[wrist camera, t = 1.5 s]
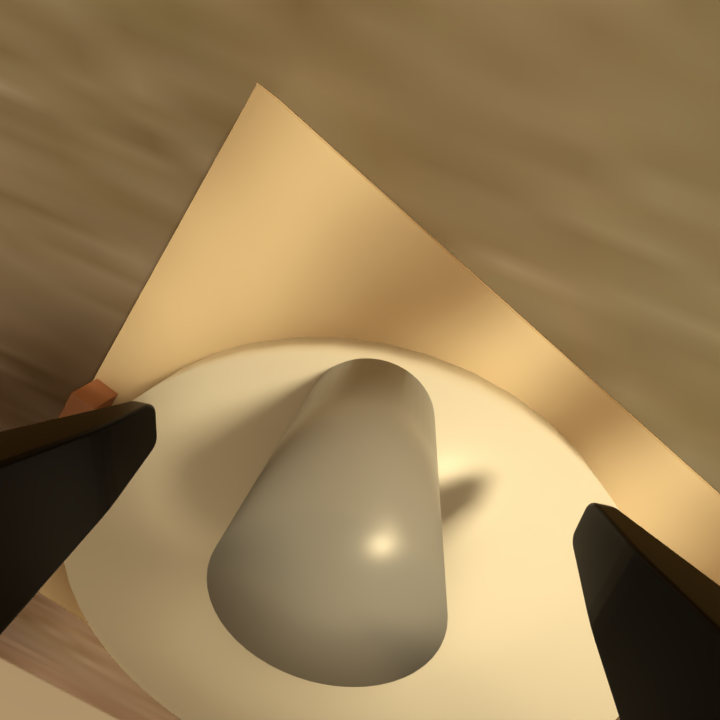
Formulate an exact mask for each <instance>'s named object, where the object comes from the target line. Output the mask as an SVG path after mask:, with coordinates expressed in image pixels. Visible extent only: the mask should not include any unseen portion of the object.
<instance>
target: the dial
mask: <svg viewBox="0 0 720 720" xmlns="http://www.w3.org/2000/svg"><path fill="white" fill-rule="evenodd" d="M133 401H138V402H143V403H147V404H151V405H152V406H154V408H155V411H156V429H157V440H156V444H155V446H154V448H153V450H152V451H151V453H150V454H149V456H148V457H147V458H146V460H145V461H144V463H143V464H142V465H141V467H140V468H139V470H138V471H137V472H136V474H135V475H134V476H133V478H132V479H131V481H130V482H129V483H128V485H127V486H126V488H125V489H124V490H123V492H122V493H121V495H120V496H119V497H118V499H117V500H116V501H115V503H114V504H113V505H112V507H111V508H110V509H109V510H108V512H107V513H106V514H105V515H104V516H103V518H102V519H101V520H100V521H99V522H98V523H97V525H96V526H95V527H94V528H93V529H92V530H91V531H90V533H89V534H88V535H87V536H86V537H85V538H84V539H83V541H82V542H81V543H80V544H79V545H78V546H77V547H76V549H75V550H74V551H73V552H72V553H71V554H70V555H69V557H68V558H67V559H66V560H65V561H64V565H65V568H66V572H67V576H68V580H69V584H70V586H71V589H72V591H73V593H74V596H75V598H76V601H77V603H78V605H79V608H80V610H81V611H82V613H83V615H84V617H85V619H86V620H87V622H88V624H89V626H90V627H91V629H92V631H93V632H94V634H95V635H96V637H97V638H98V639H99V641H100V642H101V644H102V645H103V646H104V648H105V649H106V650H107V652H108V653H109V654H110V656H111V657H112V658H113V659H114V660H115V661H116V662H117V664H118V665H119V666H120V667H121V668H122V669H123V670H124V671H125V673H126V674H127V675H128V676H129V677H130V678H131V679H133V680H134V681H135V682H136V683H137V684H138V685H139V686H140V687H141V688H142V689H143V690H144V691H145V692H146V693H147V694H149V695H150V696H151V697H152V698H154V699H155V700H156V701H157V702H159V703H160V704H161V705H162V706H164V707H165V708H166V709H167V710H169V711H170V712H171V713H173V714H174V715H176V716H177V717H179V718H180V719H182V720H616V719H617V717H618V716H619V715H618V712H617V709H616V706H615V702H614V699H613V696H612V693H611V690H610V687H609V684H608V681H607V678H606V674H605V671H604V668H603V665H602V662H601V659H600V656H599V653H598V649H597V646H596V643H595V640H594V637H593V633H592V630H591V626H590V622H589V618H588V614H587V610H586V605H585V600H584V596H583V591H582V587H581V582H580V577H579V573H578V568H577V563H576V559H575V554H574V550H573V534H574V531H575V529H576V527H577V525H578V523H579V521H580V519H581V517H582V515H583V513H584V511H585V509H586V507H587V506H588V505H589V504H590V503H599V504H604V505H608V506H612V507H615V508H617V509H618V507H617V506H616V504H615V503H614V501H613V500H612V498H611V497H610V495H609V494H608V492H607V491H606V489H605V488H604V486H603V485H602V483H601V482H600V480H599V479H598V477H597V476H596V475H595V473H594V472H593V471H592V469H591V468H590V467H589V465H588V464H587V463H586V461H585V460H584V459H583V457H582V456H581V455H580V453H579V452H578V451H577V449H576V448H575V447H574V446H573V445H572V444H571V443H570V442H569V441H568V440H567V439H566V438H565V437H564V436H563V435H562V434H561V433H560V432H559V431H558V430H557V429H556V428H555V427H554V426H553V425H552V424H551V423H550V422H548V421H547V420H546V419H545V418H543V417H542V416H541V415H539V414H538V413H537V412H535V411H534V410H533V409H531V408H530V407H529V406H527V405H526V404H525V403H523V402H522V401H521V400H519V399H518V398H517V397H515V396H514V395H513V394H511V393H509V392H507V391H505V390H504V389H502V388H500V387H498V386H497V385H495V384H493V383H491V382H489V381H488V380H486V379H484V378H482V377H480V376H479V375H477V374H475V373H473V372H471V371H468V370H466V369H463V368H461V367H458V366H456V365H453V364H451V363H448V362H446V361H443V360H441V359H438V358H436V357H433V356H431V355H428V354H424V353H420V352H416V351H412V350H409V349H405V348H401V347H397V346H394V345H390V344H386V343H379V342H372V341H364V340H357V339H350V338H342V337H292V338H284V339H276V340H268V341H260V342H254V343H250V344H246V345H243V346H239V347H235V348H231V349H228V350H224V351H220V352H217V353H215V354H213V355H210V356H208V357H206V358H203V359H201V360H199V361H197V362H194V363H192V364H190V365H187V366H185V367H184V368H182V369H180V370H179V371H177V372H176V373H174V374H173V375H171V376H169V377H168V378H166V379H165V380H163V381H162V382H160V383H159V384H157V385H155V386H154V387H152V388H151V389H149V390H148V391H146V392H145V393H143V394H142V395H140V396H139V397H137V398H136V399H134V400H133ZM618 510H619V509H618ZM619 511H620V510H619Z"/></svg>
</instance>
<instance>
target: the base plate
mask: <svg viewBox="0 0 720 720" xmlns="http://www.w3.org/2000/svg"><path fill="white" fill-rule="evenodd" d="M292 337H342V338H350V339H357V340H364V341H372V342H379V343H386V344H390V345H394V346H397V347H401V348H405V349H409V350H412V351H416V352H420V353H424V354H428V355H431V356H433V357H436V358H438V359H441V360H443V361H446V362H448V363H451V364H453V365H456V366H458V367H461V368H463V369H466V370H468V371H471V372H473V373H475V374H477V375H479V376H480V377H482V378H484V379H486V380H488V381H489V382H491V383H493V384H495V385H497V386H498V387H500V388H502V389H504V390H505V391H507V392H509V393H511V394H513V395H514V396H515V397H517V398H518V399H519V400H521V401H522V402H523V403H525V404H526V405H527V406H529V407H530V408H531V409H533V410H534V411H535V412H537V413H538V414H539V415H541V416H542V417H543V418H545V419H546V420H547V421H548V422H550V423H551V424H552V425H553V426H554V427H555V428H556V429H557V430H558V431H559V432H560V433H561V434H562V435H563V436H564V437H565V438H566V439H567V440H568V441H569V442H570V443H571V444H572V445H573V446H574V447H575V448H576V449H577V451H578V452H579V453H580V455H581V456H582V457H583V459H584V460H585V461H586V463H587V464H588V465H589V467H590V468H591V469H592V471H593V472H594V473H595V475H596V476H597V477H598V479H599V480H600V482H601V483H602V485H603V486H604V488H605V489H606V491H607V492H608V494H609V495H610V497H611V498H612V500H613V501H614V503H615V504H616V506H617V507H618V509H619V510H620V511H621V512H622V513H623V514H625V515H626V516H627V517H629V518H630V519H631V520H633V521H634V522H635V523H637V524H638V525H639V526H641V527H642V528H643V529H645V530H646V531H647V532H649V533H650V534H651V535H653V536H654V537H655V538H657V539H658V540H659V541H661V542H662V543H663V544H665V545H666V546H667V547H669V548H670V549H671V550H673V551H674V552H675V553H677V554H678V555H679V556H681V557H682V558H683V559H685V560H686V561H687V562H689V563H690V564H691V565H693V566H694V567H695V568H697V569H698V570H699V571H701V572H702V573H703V574H705V575H706V576H707V577H709V578H710V579H711V580H713V581H714V582H715V583H717V584H718V585H719V586H720V494H719V493H718V492H717V491H716V490H715V489H713V488H712V487H711V486H710V485H709V484H708V483H707V482H706V481H705V480H703V479H702V478H701V477H700V476H699V475H698V474H697V473H696V472H695V471H693V470H692V469H691V468H690V467H689V466H688V465H687V464H686V463H684V462H683V461H682V460H681V459H680V458H679V457H678V456H677V455H676V454H674V453H673V452H672V451H671V450H670V449H669V448H668V447H667V446H665V445H664V444H663V443H662V442H661V441H660V440H659V439H658V438H657V437H655V436H654V435H653V434H652V433H651V432H650V431H649V430H648V429H646V428H645V427H644V426H643V425H642V424H641V423H640V422H639V421H638V420H636V419H635V418H634V417H633V416H632V415H631V414H630V413H629V412H627V411H626V410H625V409H624V408H623V407H622V406H621V405H620V404H619V403H617V402H616V401H615V400H614V399H613V398H612V397H611V396H610V395H608V394H607V393H606V392H605V391H604V390H603V389H602V388H601V387H600V386H598V385H597V384H596V383H595V382H594V381H593V380H592V379H591V378H589V377H588V376H587V375H586V374H585V373H584V372H583V371H582V370H581V369H579V368H578V367H577V366H576V365H575V364H574V363H573V362H572V361H570V360H569V359H568V358H567V357H566V356H565V355H564V354H563V353H562V352H560V351H559V350H558V349H557V348H556V347H555V346H554V345H553V344H551V343H550V342H549V341H548V340H547V339H546V338H545V337H544V336H543V335H541V334H540V333H539V332H538V331H537V330H536V329H535V328H534V327H532V326H531V325H530V324H529V323H528V322H527V321H526V320H525V319H524V318H522V317H521V316H520V315H519V314H518V313H517V312H516V311H515V310H513V309H512V308H511V307H510V306H509V305H508V304H507V303H506V302H505V301H503V300H502V299H501V298H500V297H499V296H498V295H497V294H496V293H494V292H493V291H492V290H491V289H490V288H489V287H488V286H487V285H486V284H484V283H483V282H482V281H481V280H480V279H479V278H478V277H477V276H476V275H474V274H473V273H472V272H471V271H470V270H469V269H468V268H467V267H465V266H464V265H463V264H462V263H461V262H460V261H459V260H458V259H457V258H455V257H454V256H453V255H452V254H451V253H450V252H449V251H448V250H446V249H445V248H444V247H443V246H442V245H441V244H440V243H439V242H438V241H436V240H435V239H434V238H433V237H432V236H431V235H430V234H429V233H427V232H426V231H425V230H424V229H423V228H422V227H421V226H420V225H419V224H417V223H416V222H415V221H414V220H413V219H412V218H411V217H410V216H408V215H407V214H406V213H405V212H404V211H403V210H402V209H401V208H400V207H398V206H397V205H396V204H395V203H394V202H393V201H392V200H391V199H389V198H388V197H387V196H386V195H385V194H384V193H383V192H382V191H381V190H379V189H378V188H377V187H376V186H375V185H374V184H373V183H372V182H370V181H369V180H368V179H367V178H366V177H365V176H364V175H363V174H362V173H360V172H359V171H358V170H357V169H356V168H355V167H354V166H353V165H351V164H350V163H349V162H348V161H347V160H346V159H345V158H344V157H343V156H341V155H340V154H339V153H338V152H337V151H336V150H335V149H334V148H332V147H331V146H330V145H329V144H328V143H327V142H326V141H325V140H324V139H322V138H321V137H320V136H319V135H318V134H317V133H316V132H315V131H313V130H312V129H311V128H310V127H309V126H308V125H307V124H306V123H305V122H303V121H302V120H301V119H300V118H299V117H298V116H297V115H296V114H294V113H293V112H292V111H291V110H290V109H289V108H288V107H287V106H286V105H284V104H283V103H282V102H281V101H280V100H279V99H277V98H276V97H275V96H274V95H272V94H271V93H270V92H268V91H267V90H266V89H265V88H263V87H262V86H261V85H260V84H258V83H257V85H256V87H255V89H254V90H253V92H252V94H251V96H250V98H249V99H248V101H247V103H246V105H245V107H244V109H243V110H242V112H241V114H240V116H239V118H238V119H237V121H236V123H235V125H234V127H233V128H232V130H231V132H230V134H229V136H228V137H227V139H226V141H225V143H224V145H223V146H222V148H221V150H220V152H219V154H218V155H217V157H216V159H215V161H214V163H213V165H212V166H211V168H210V170H209V172H208V174H207V175H206V177H205V179H204V181H203V183H202V184H201V186H200V188H199V190H198V192H197V193H196V195H195V197H194V199H193V201H192V202H191V204H190V206H189V208H188V210H187V211H186V213H185V215H184V217H183V219H182V220H181V222H180V224H179V226H178V228H177V230H176V231H175V233H174V235H173V237H172V239H171V240H170V242H169V244H168V246H167V248H166V249H165V251H164V253H163V255H162V257H161V258H160V260H159V262H158V264H157V266H156V267H155V269H154V271H153V273H152V275H151V276H150V278H149V280H148V282H147V284H146V286H145V287H144V289H143V291H142V293H141V295H140V296H139V298H138V300H137V302H136V304H135V305H134V307H133V309H132V311H131V313H130V314H129V316H128V318H127V320H126V322H125V323H124V325H123V327H122V329H121V331H120V332H119V334H118V336H117V338H116V340H115V342H114V343H113V345H112V347H111V349H110V351H109V352H108V354H107V356H106V358H105V360H104V361H103V363H102V365H101V367H100V369H99V370H98V372H97V374H96V376H95V378H94V379H93V381H92V382H90V383H88V384H87V385H85V386H83V387H81V388H79V389H77V390H75V391H73V392H72V393H71V395H70V397H69V399H68V400H67V402H66V404H65V406H64V408H63V410H62V412H61V414H60V415H59V417H58V418H61V417H66V416H70V415H74V414H79V413H83V412H87V411H91V410H96V409H100V408H104V407H108V406H113V405H117V404H121V403H125V402H130V401H133V400H134V399H136V398H137V397H139V396H140V395H142V394H143V393H145V392H146V391H148V390H149V389H151V388H152V387H154V386H155V385H157V384H159V383H160V382H162V381H163V380H165V379H166V378H168V377H169V376H171V375H173V374H174V373H176V372H177V371H179V370H180V369H182V368H184V367H185V366H187V365H190V364H192V363H194V362H197V361H199V360H201V359H203V358H206V357H208V356H210V355H213V354H215V353H217V352H220V351H224V350H228V349H231V348H235V347H239V346H243V345H246V344H250V343H254V342H260V341H268V340H276V339H284V338H292ZM38 592H39V593H41V594H42V595H44V596H46V597H47V598H49V599H50V600H52V601H53V602H55V603H56V604H58V605H60V606H61V607H63V608H64V609H66V610H67V611H69V612H71V613H72V614H74V615H75V616H77V617H78V618H80V619H81V620H83V621H85V622H86V623H88V622H87V620H86V619H85V617H84V615H83V613H82V611H81V610H80V608H79V605H78V603H77V601H76V598H75V596H74V593H73V591H72V589H71V586H70V584H69V580H68V576H67V572H66V568H65V565H64V562H63V564H62V565H61V566H60V567H59V568H58V569H57V570H56V572H55V573H54V574H53V575H52V576H51V577H50V578H49V580H48V581H47V582H46V583H45V584H44V585H43V586H42V588H41V589H40V590H39V591H38Z"/></svg>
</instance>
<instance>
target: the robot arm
mask: <svg viewBox="0 0 720 720" xmlns="http://www.w3.org/2000/svg"><path fill="white" fill-rule="evenodd" d="M156 440H157V429H156V411H155V408H154V406H152V405H151V404H147V403H143V402H138V401H130V402H125V403H121V404H117V405H113V406H108V407H104V408H100V409H96V410H91V411H87V412H83V413H79V414H74V415H70V416H66V417H61V418H57V419H53V420H49V421H44V422H40V423H36V424H32V425H27V426H23V427H19V428H14V429H10V430H6V431H2V432H0V634H1V633H2V632H3V631H4V630H5V629H6V628H7V626H8V625H9V624H10V623H11V622H12V621H13V620H14V618H15V617H16V616H17V615H18V614H19V613H20V612H21V610H22V609H23V608H24V607H25V606H26V605H27V604H28V602H29V601H30V600H31V599H32V598H33V597H34V596H35V594H36V593H37V592H38V591H39V590H40V589H41V588H42V586H43V585H44V584H45V583H46V582H47V581H48V580H49V578H50V577H51V576H52V575H53V574H54V573H55V572H56V570H57V569H58V568H59V567H60V566H61V565H62V564H63V562H64V561H65V560H66V559H67V558H68V557H69V555H70V554H71V553H72V552H73V551H74V550H75V549H76V547H77V546H78V545H79V544H80V543H81V542H82V541H83V539H84V538H85V537H86V536H87V535H88V534H89V533H90V531H91V530H92V529H93V528H94V527H95V526H96V525H97V523H98V522H99V521H100V520H101V519H102V518H103V516H104V515H105V514H106V513H107V512H108V510H109V509H110V508H111V507H112V505H113V504H114V503H115V501H116V500H117V499H118V497H119V496H120V495H121V493H122V492H123V490H124V489H125V488H126V486H127V485H128V483H129V482H130V481H131V479H132V478H133V476H134V475H135V474H136V472H137V471H138V470H139V468H140V467H141V465H142V464H143V463H144V461H145V460H146V458H147V457H148V456H149V454H150V453H151V451H152V450H153V448H154V446H155V444H156ZM573 550H574V554H575V559H576V563H577V568H578V573H579V577H580V582H581V587H582V591H583V596H584V600H585V605H586V610H587V614H588V618H589V622H590V626H591V630H592V633H593V637H594V640H595V643H596V646H597V649H598V653H599V656H600V659H601V662H602V665H603V668H604V671H605V674H606V678H607V681H608V684H609V687H610V690H611V693H612V696H613V699H614V702H615V706H616V709H617V712H618V715H619V718H620V720H720V586H719V585H718V584H717V583H715V582H714V581H713V580H711V579H710V578H709V577H707V576H706V575H705V574H703V573H702V572H701V571H699V570H698V569H697V568H695V567H694V566H693V565H691V564H690V563H689V562H687V561H686V560H685V559H683V558H682V557H681V556H679V555H678V554H677V553H675V552H674V551H673V550H671V549H670V548H669V547H667V546H666V545H665V544H663V543H662V542H661V541H659V540H658V539H657V538H655V537H654V536H653V535H651V534H650V533H649V532H647V531H646V530H645V529H643V528H642V527H641V526H639V525H638V524H637V523H635V522H634V521H633V520H631V519H630V518H629V517H627V516H626V515H625V514H623V513H622V512H621V511H619V510H618V509H617V508H615V507H612V506H608V505H604V504H599V503H590V504H589V505H588V506H587V507H586V509H585V511H584V513H583V515H582V517H581V519H580V521H579V523H578V525H577V527H576V529H575V531H574V534H573Z"/></svg>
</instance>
